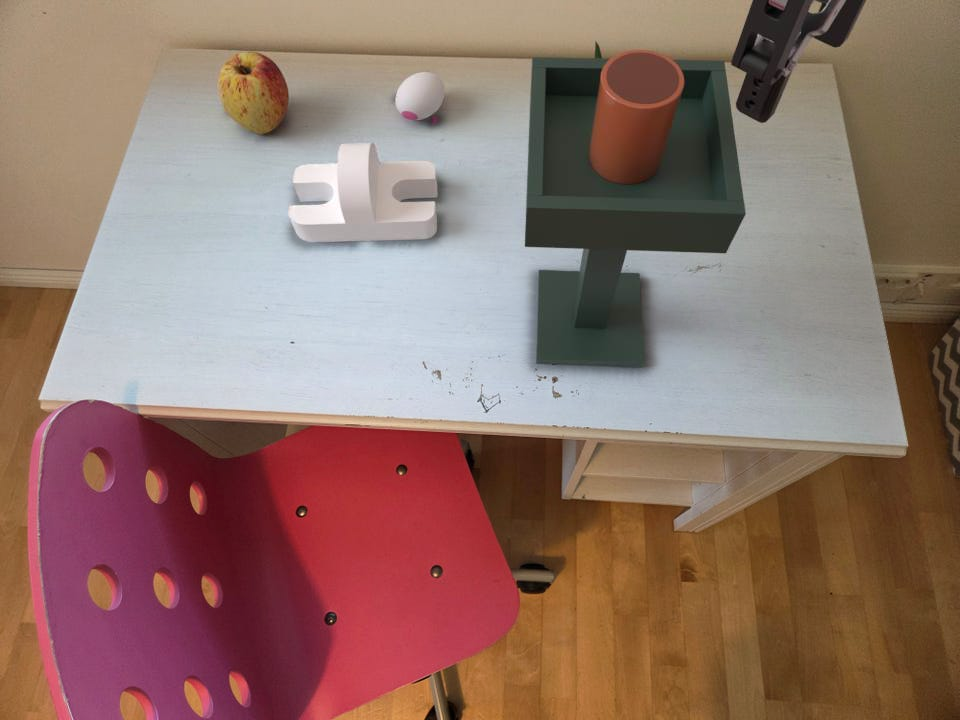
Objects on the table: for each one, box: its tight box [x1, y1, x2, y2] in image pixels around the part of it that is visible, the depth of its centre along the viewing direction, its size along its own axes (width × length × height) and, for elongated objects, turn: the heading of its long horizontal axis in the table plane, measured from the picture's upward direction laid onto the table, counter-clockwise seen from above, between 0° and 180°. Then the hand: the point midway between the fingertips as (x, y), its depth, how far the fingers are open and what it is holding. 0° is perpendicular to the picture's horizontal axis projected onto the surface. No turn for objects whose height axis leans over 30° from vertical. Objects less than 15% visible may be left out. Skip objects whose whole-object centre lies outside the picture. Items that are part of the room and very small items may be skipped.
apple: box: [217, 51, 290, 135], centre depth 92 cm, size 9×9×10 cm
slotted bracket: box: [287, 142, 439, 243], centre depth 85 cm, size 18×10×10 cm, turn 91°
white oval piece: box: [394, 71, 446, 124], centre depth 95 cm, size 8×8×7 cm
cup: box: [589, 49, 684, 184], centre depth 53 cm, size 6×6×8 cm
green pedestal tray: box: [524, 56, 747, 368], centre depth 68 cm, size 16×16×30 cm
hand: (790, 75), depth 43 cm, fingers open, 8 cm apart
